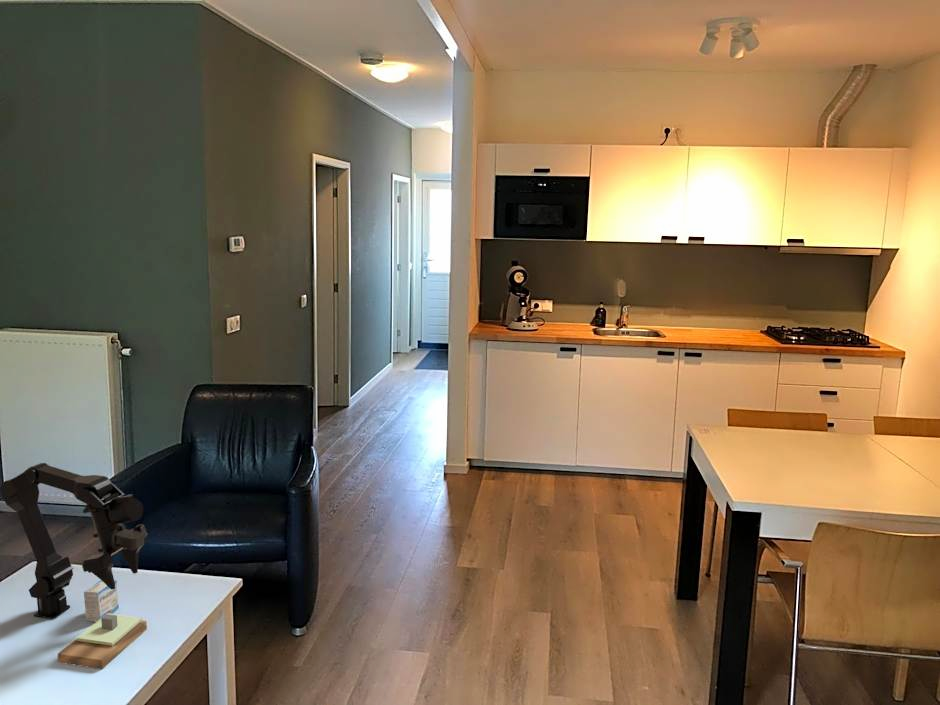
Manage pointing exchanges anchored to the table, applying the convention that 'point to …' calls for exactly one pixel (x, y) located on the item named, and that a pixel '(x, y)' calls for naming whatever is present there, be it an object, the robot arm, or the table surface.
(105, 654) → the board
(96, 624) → the cover
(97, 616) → the medicine box
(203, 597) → the table surface
